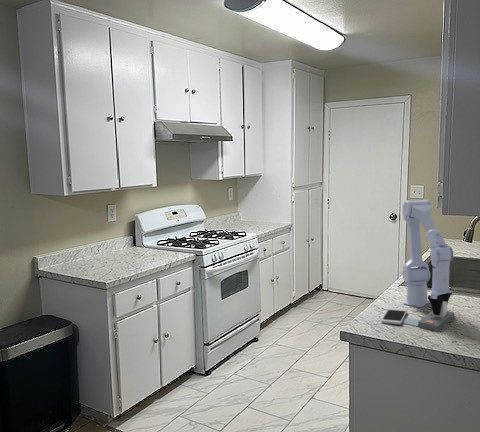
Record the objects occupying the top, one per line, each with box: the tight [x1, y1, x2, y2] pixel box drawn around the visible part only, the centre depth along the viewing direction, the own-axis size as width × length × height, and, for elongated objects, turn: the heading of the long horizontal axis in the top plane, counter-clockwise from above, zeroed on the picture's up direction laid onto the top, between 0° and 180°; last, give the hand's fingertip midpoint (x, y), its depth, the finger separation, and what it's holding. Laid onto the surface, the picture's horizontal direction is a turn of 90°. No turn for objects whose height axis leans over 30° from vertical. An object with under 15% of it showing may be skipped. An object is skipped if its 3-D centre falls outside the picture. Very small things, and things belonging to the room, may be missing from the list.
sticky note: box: [401, 317, 421, 327], centre depth 169 cm, size 6×6×1 cm
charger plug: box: [431, 301, 448, 318], centre depth 170 cm, size 4×4×7 cm
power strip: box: [418, 310, 455, 332], centre depth 168 cm, size 18×7×2 cm, turn 138°
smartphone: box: [380, 307, 408, 325], centre depth 174 cm, size 7×15×1 cm, turn 151°
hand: (439, 312), depth 170 cm, fingers open, 6 cm apart
